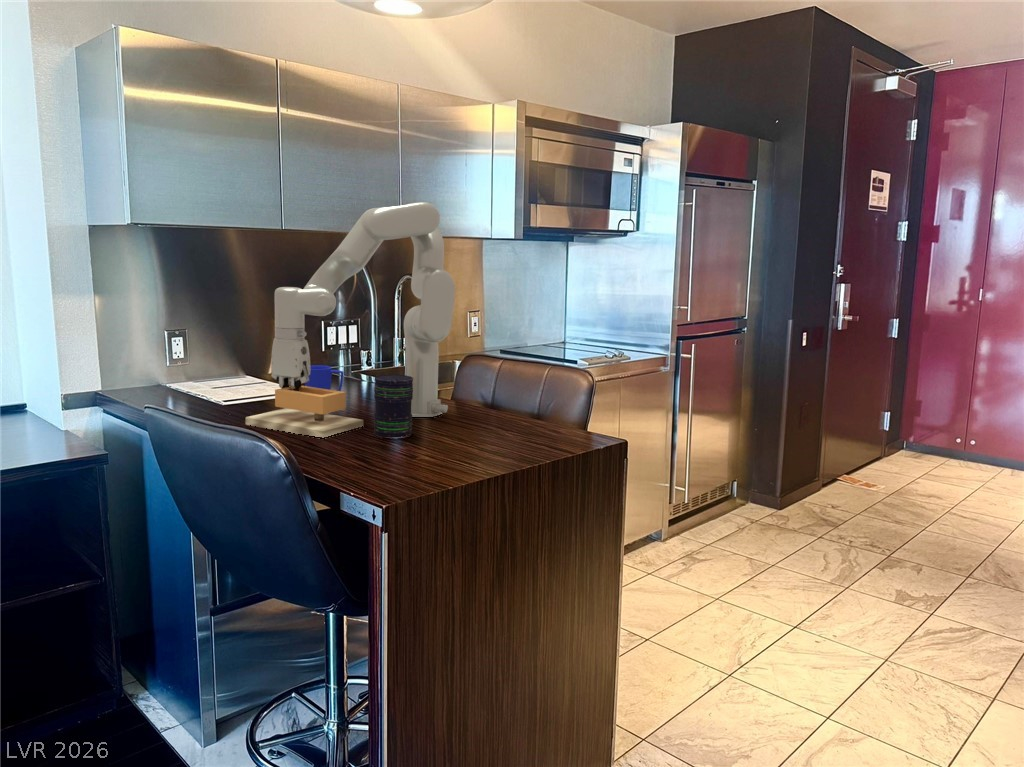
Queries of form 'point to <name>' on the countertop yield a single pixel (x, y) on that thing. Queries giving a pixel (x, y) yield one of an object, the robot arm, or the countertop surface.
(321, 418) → the round metal post
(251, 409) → the countertop surface
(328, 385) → the mug
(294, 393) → the orange rectangular frame
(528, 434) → the countertop surface
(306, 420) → the backing board
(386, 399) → the storage jar
